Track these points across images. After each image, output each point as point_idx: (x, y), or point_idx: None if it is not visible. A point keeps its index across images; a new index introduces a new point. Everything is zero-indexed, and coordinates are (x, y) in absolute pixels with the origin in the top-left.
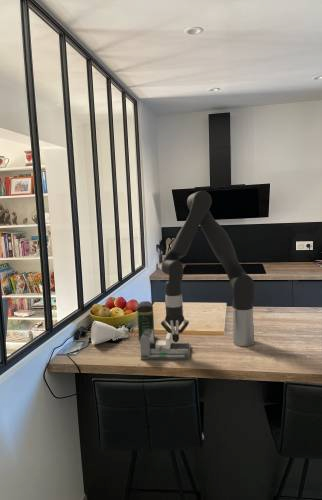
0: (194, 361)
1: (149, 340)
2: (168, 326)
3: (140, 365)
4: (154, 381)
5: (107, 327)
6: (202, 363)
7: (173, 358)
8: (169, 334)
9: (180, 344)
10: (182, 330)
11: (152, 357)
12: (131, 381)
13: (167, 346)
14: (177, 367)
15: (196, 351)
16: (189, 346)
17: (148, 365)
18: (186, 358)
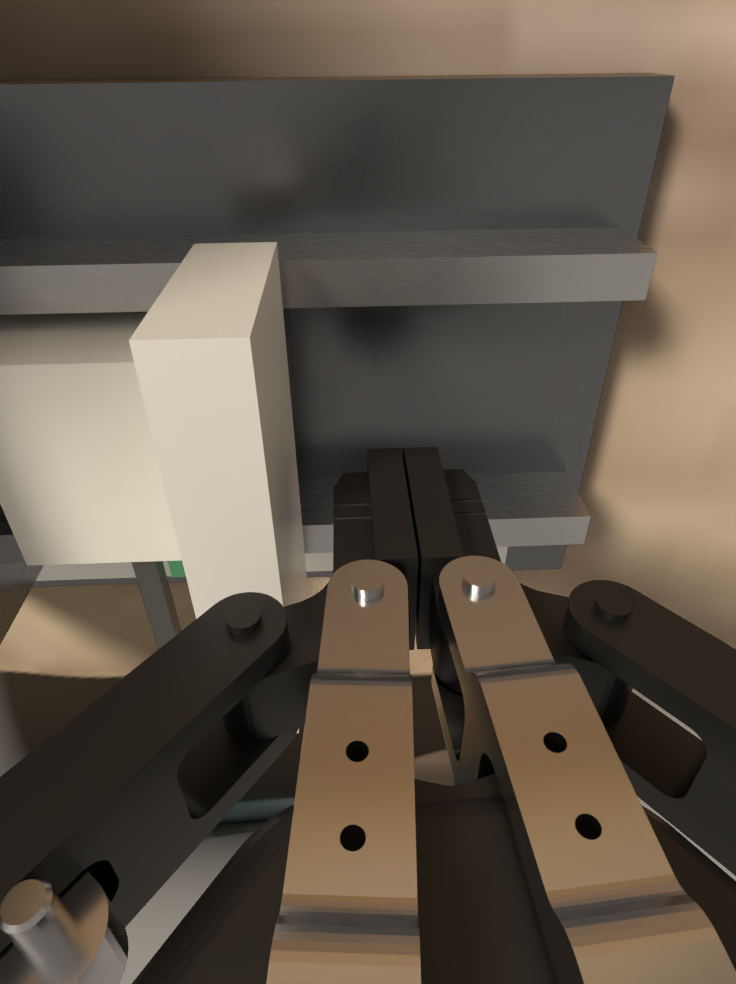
0: (611, 563)
1: None
2: (185, 723)
3: (23, 662)
4: (262, 822)
5: None
6: (689, 595)
7: None
8: (252, 566)
9: (467, 296)
10: (635, 742)
11: (91, 582)
12: None
13: None
14: (421, 670)
15: (708, 287)
16: (630, 193)
17: (110, 658)
18: (528, 560)
